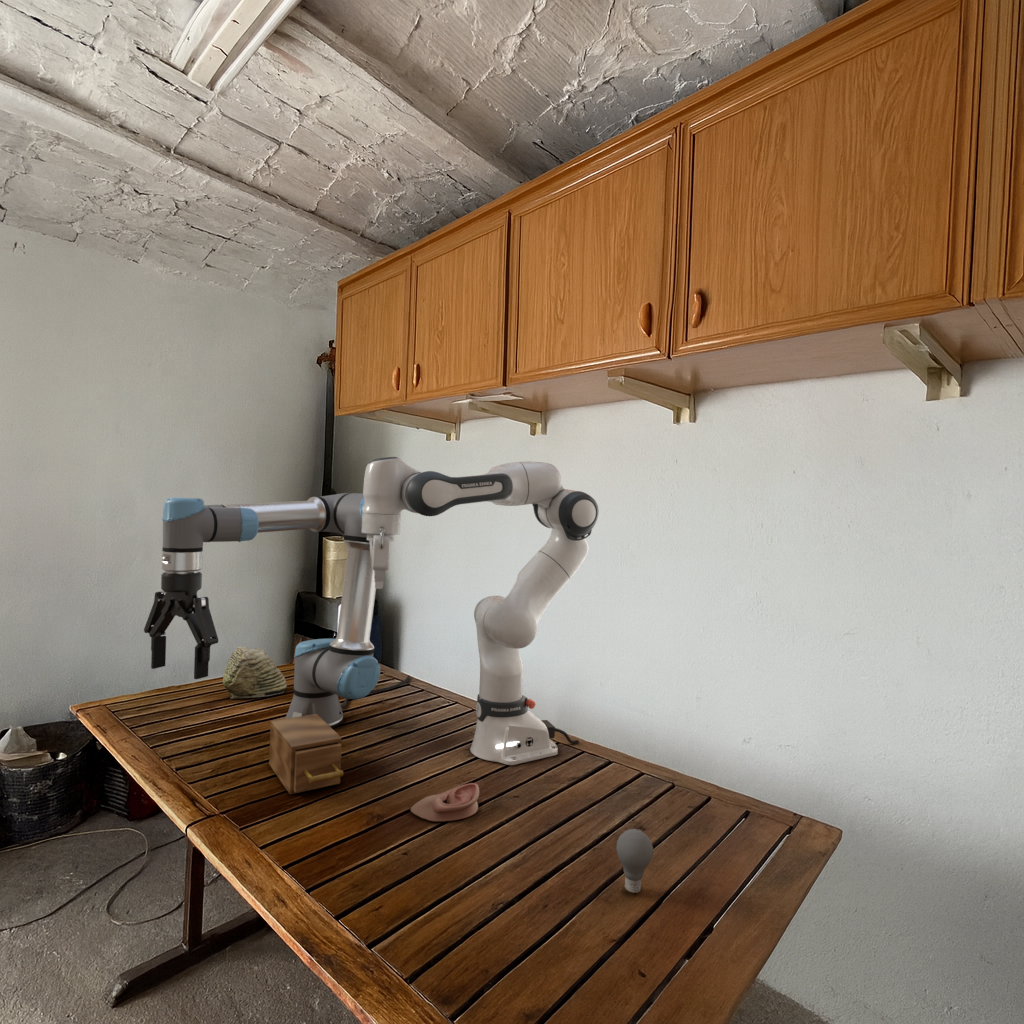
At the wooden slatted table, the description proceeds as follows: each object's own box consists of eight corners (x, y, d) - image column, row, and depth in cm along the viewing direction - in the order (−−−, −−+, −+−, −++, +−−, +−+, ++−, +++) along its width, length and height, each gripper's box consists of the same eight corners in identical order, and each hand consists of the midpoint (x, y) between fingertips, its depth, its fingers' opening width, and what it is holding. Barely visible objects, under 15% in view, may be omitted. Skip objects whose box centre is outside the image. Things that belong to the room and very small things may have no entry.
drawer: (348, 792, 134) (350, 753, 134) (302, 803, 129) (304, 762, 128) (316, 756, 152) (317, 721, 152) (274, 764, 146) (276, 728, 146)
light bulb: (610, 879, 108) (613, 822, 108) (644, 879, 109) (647, 822, 109) (619, 902, 102) (622, 840, 102) (655, 901, 103) (658, 840, 103)
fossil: (218, 695, 195) (220, 647, 195) (278, 685, 208) (279, 640, 207) (228, 703, 189) (230, 653, 188) (289, 692, 201) (290, 645, 201)
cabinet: (340, 783, 140) (341, 737, 140) (289, 794, 134) (291, 746, 134) (315, 755, 155) (316, 713, 154) (269, 764, 148) (270, 720, 148)
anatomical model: (405, 797, 126) (424, 773, 137) (404, 817, 126) (424, 792, 138) (469, 807, 124) (484, 782, 135) (468, 827, 124) (483, 800, 135)
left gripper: (127, 567, 134) (124, 667, 135) (206, 578, 123) (203, 686, 124) (160, 565, 141) (157, 659, 142) (238, 575, 130) (235, 677, 131)
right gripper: (397, 529, 138) (394, 592, 138) (392, 524, 158) (390, 580, 158) (367, 528, 136) (364, 592, 137) (366, 523, 156) (364, 579, 157)
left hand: (179, 672), depth 133 cm, fingers open, 13 cm apart
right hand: (378, 585), depth 148 cm, fingers open, 8 cm apart
